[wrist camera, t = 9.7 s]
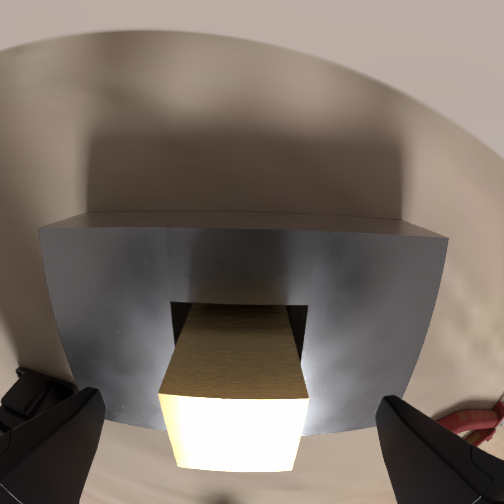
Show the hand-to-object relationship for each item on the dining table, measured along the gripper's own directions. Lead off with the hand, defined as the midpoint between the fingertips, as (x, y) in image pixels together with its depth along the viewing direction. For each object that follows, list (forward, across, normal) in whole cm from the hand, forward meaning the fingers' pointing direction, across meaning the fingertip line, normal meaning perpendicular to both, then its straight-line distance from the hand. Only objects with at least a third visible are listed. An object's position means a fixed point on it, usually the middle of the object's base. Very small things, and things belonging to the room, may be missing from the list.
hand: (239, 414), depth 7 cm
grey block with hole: (+7, 0, 0) cm, 7 cm away
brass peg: (+7, 0, 0) cm, 7 cm away
